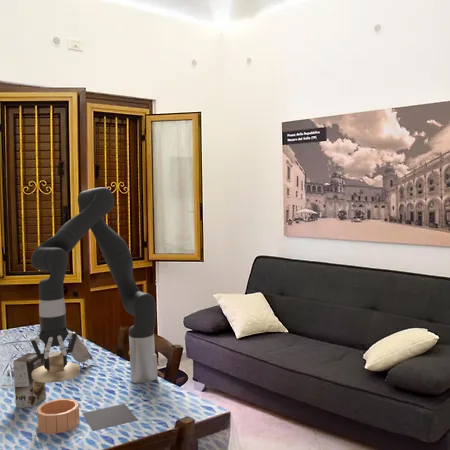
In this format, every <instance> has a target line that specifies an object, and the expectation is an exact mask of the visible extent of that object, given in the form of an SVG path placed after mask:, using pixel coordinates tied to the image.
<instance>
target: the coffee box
mask: <svg viewBox="0 0 450 450" xmlns="http://www.w3.org/2000/svg"><path fill="white" fill-rule="evenodd" d="M12 362H13V363H12V364H13V377H14V378H13V379H14V383H13V384H14V398H15V400H14V401H15V408H19V409H20V408H22V409H28V408H33V407H35V406H36V405H39V404H40V403H41V402H42V401H43V400H46V398H47V392H46V391H47V389H46V383H42V382H37V381H34V380H33V379H32V371H33V370H35V369H36V368H38V367H40V366H43V365H44V360H43V358H38V356H37V354H36V352H26V353H25V354H23V355H22V356H20V357H18V358H16V359H15V360H13V361H12Z"/></svg>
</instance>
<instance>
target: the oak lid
mask: <svg viewBox="0 0 450 450" xmlns="http://www.w3.org/2000/svg"><path fill="white" fill-rule="evenodd" d="M48 358H49V369H50V370H48V371H47V369H45V367H44V365H43V366H40V367H38V368H36V369H35V370H33V371H32V379H33V380H34V381H37V382H42V383H45V384H46V383H48V384H50V383H59V382H64V381H68V380H70V379H72V378H75V377H78V375H79V374H80V371H81V370H80V368H81V367H79V366H80V364H78V363H75V362H68V361H67V365H65V367H64V364H63V354H62V352H61V350H59V351H54V352H49V356H48Z"/></svg>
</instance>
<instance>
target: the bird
mask: <svg viewBox="0 0 450 450" xmlns="http://www.w3.org/2000/svg"><path fill="white" fill-rule="evenodd" d="M78 335H79V334H77V338H76V341H75V345H74V348H73V351H72V352H71V353H69V354H70V356H71V357H72V358H73V359H74V361H76V362H77V363H78V365H79V367H80V369H81V370H85V368H86V366H85V362H87V361H89V360H91V361H93V359H94V358H93V356H92V354H91V353H90V351H89V349H88V348H87V346H86V344H85V342H84V341H82V340H81V339H80V337H79V336H78ZM65 341H68V342H69V341H70V339H69V336H67V337H66V339H65ZM81 363H82V364H83V365H80V364H81Z"/></svg>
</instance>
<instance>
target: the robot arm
mask: <svg viewBox="0 0 450 450" xmlns="http://www.w3.org/2000/svg"><path fill="white" fill-rule="evenodd" d="M113 194H114V193H113V192H112V191H111V190H110V189H109V188H107V187H104V186H103V187H102V186H101V187H95V188H90V189H87V190H86V189H85V190H82V191H81V192H80V193H79V194H78V195H77V205H78V208H79V210H80V212H79V213H77V214H76V215H75V216H73V217H72V218H71V219H69V220H67V221H66V222H65V223H63V225H62V226H61V227H60V228H58V230H57V232H55V234H54V235H53V236H52V237H50V238H48V239H46V240H45V241H43V242H42V243H41V244H39V245H38V246H37V247H36V248H35V249H34V251H33V252H32V254H31V256H30V262H31V263H30V264H31V265H32V268H34V269H35V270H37V271H40V272H42V271H43V272H50V274H49V276H48V278H43V279H41V280H40V281H39V282H38V298H39V303H38V313H39V327H40V328H39V329H40V330H39V331H40V332H39V334H38V336H36V337H35V338H33V337H32V338H30V339H29V340H30V344H31V346H32V348H33V350H34V353H36V354H37V356H38V358H43V360H44V367H45V369H47V371H48V370H50V369H49V358H48V356H49V353H51V348H53V347H59V349H60V350H59V351H61V353H62V354H63V364H64V367H65V365H67V362H68V354H70V353H71V352H72V351H73V348H74V345H75V341H76V338H77V335H78V334H77V333H76V331H68V329H67V328H68V327H67V316H66V315H67V314H66V311H67V310H66V309H67V308H66V303H65V294H64V282H65V277H66V271H67V269H68V268H67V267H68V261H69V259H68V253H70V252H72V251H73V249H74V248H75V246H76V245H78V243H79V242H80V241H81V239H82V238H83V237H84V236H85V234H86V233H87V232H89V230H90V231H91V232H92V235H93V236H94V238H95V240H96V243H97V244H98V246H99V249H100V250H101V251H100V252H101V254H102V256H103V257H102V258H104V261H105V263H106V265H107V267H108V269H109V272H110V274H111V275H112V279H113V280H114V283H115V285H116V287H117V291H118V293H119V296H120V299H121V303H122V305H123V308H124V310H125V311H126V313H128V314H129V315H131V316H134V325H132V326H130V327H129V328H128V341H129V343H128V344H129V345H128V346H129V358H130V359H129V362H130V381H131V382H132V383H133V384H142V383H143V384H145V383H149V382H154V381H157V380H158V358H157V357H158V356H157V354H156V351H155V350H156V349H155V327H156V325H157V311H156V310H157V304H156V300H155V298H154V297H153V295H152V294H150V293H147V292H145V291H141V290H140V289H139V287H138V285H137V283H136V280H135V278H134V272H133V271H134V260H133V256H132V253H131V251H130V248H129V247H128V244H127V242H126V241H125V239H124V238H122V236H120V235H119V234H118V232H115V230H113V229H112V228H111V227H110V226H109V225H108V223H107V222H106V221H105V219H104V217H105V216H106V215H107V214H108V213H110V212H111V211H112V209H113V207H114V204H115V198H114V195H113ZM68 336H69V339H70V341H68V344H67V348H66V346H65V344H64V342H65V341H66V339H67V338H68ZM40 340H41V342H42V343H43V344H44V345H43V351H42V352H41V350H40V348H39V346H38V345H39V344H40Z"/></svg>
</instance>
